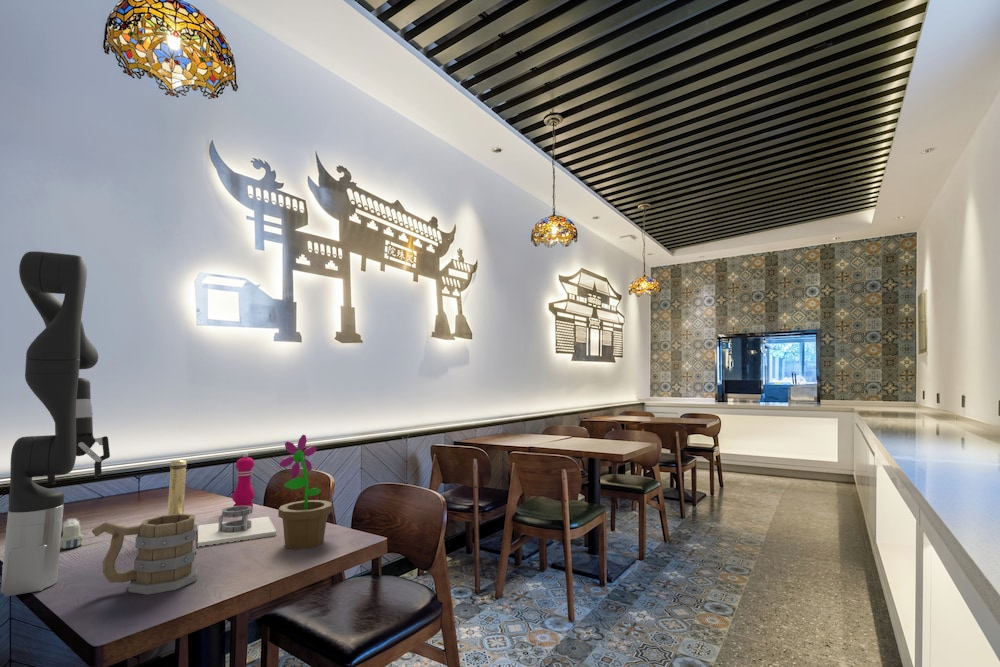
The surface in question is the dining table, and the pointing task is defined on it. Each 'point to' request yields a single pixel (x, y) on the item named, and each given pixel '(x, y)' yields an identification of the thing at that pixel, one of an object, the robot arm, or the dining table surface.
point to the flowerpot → (303, 503)
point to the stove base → (235, 527)
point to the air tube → (177, 487)
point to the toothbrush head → (71, 533)
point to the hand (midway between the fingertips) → (75, 480)
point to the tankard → (154, 553)
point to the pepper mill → (244, 482)
